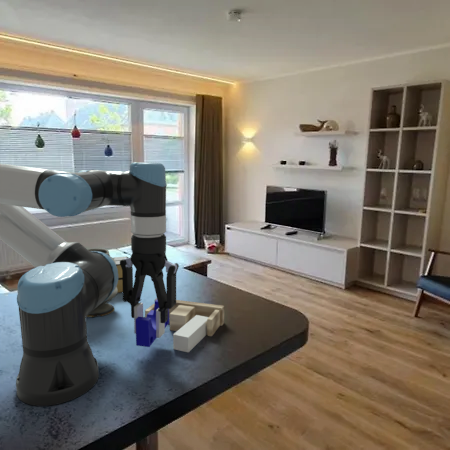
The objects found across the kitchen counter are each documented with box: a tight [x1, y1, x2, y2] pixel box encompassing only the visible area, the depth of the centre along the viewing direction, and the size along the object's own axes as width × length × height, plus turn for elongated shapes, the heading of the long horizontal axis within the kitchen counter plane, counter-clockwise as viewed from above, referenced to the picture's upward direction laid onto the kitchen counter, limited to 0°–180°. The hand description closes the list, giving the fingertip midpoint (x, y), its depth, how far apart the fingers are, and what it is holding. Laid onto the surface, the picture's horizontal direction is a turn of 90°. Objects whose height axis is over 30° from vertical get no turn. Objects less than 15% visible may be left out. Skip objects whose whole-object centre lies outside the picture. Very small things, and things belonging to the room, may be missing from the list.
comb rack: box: [144, 297, 225, 337], centre depth 102 cm, size 8×20×5 cm, turn 72°
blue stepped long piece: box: [135, 299, 170, 348], centre depth 86 cm, size 12×4×6 cm, turn 168°
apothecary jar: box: [86, 247, 118, 318], centre depth 110 cm, size 12×12×18 cm
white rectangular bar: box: [172, 315, 209, 353], centre depth 94 cm, size 12×4×4 cm, turn 157°
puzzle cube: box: [112, 255, 128, 294], centre depth 129 cm, size 10×10×10 cm
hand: (149, 332), depth 86 cm, fingers closed on blue stepped long piece, 5 cm apart
